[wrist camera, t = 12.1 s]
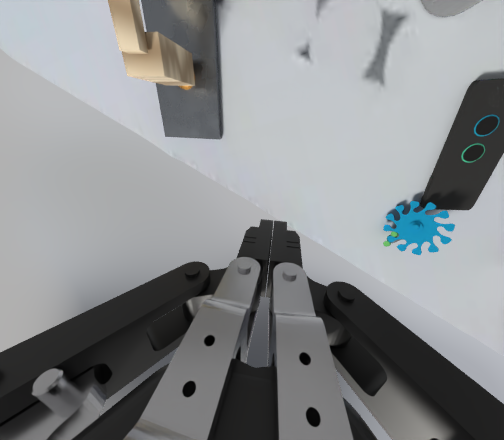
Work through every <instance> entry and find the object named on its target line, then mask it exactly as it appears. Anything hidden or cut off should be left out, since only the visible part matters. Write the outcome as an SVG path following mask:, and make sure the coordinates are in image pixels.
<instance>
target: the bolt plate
mask: <svg viewBox="0 0 504 440" xmlns="http://www.w3.org/2000/svg"><path fill="white" fill-rule="evenodd" d="M141 2H142V8H143V13H144V19H145V24H146V30H147V32H159V33H160V34H162V35H164V36H165V37H167V38H168V39H170V40H171V41H173V42H175V43H176V44H178V45H179V46H181V47H182V48H184V49H185V50H187V51H189V52H190V53H192V60H193V70H194V81H195V86H176V85H163V84H159V83H156V87H157V92H158V98H159V103H160V109H161V115H162V120H163V126H164V132H165V137H184V138H203V139H221V120H220V98H219V76H218V54H217V33H216V11H215V0H141Z"/></svg>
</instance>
